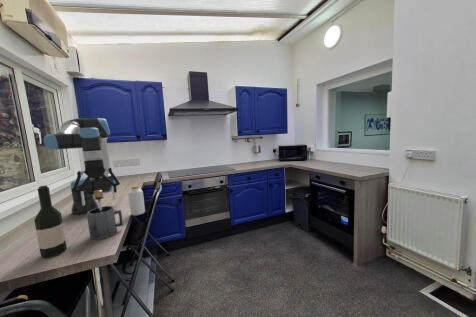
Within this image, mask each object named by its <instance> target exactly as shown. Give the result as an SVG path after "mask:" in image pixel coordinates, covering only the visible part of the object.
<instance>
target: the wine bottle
mask: <svg viewBox="0 0 476 317" xmlns="http://www.w3.org/2000/svg"><path fill="white" fill-rule="evenodd" d="M37 193H38V199H39V205H40V209H39V211H38V213H37V214H36V216H35V218H34V221H33V222H34V226H35V231H36V236H37V242H38V248H39V254H40V258H41V259H46V260H47V259H50V258H54V257H58V256H60V255H61V254H63V253H65V252H66V250H67V249H68V247H67V246H68V245H67V242H66V241H67V240H66V234H65V228H64V222H63V216H62V213H61V211H59V210H58V209H57V208H55V206H53V204H52V198H51V193H50V187H48V185H40V186H38V188H37Z"/></svg>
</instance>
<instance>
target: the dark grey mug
mask: <svg viewBox="0 0 476 317" xmlns="http://www.w3.org/2000/svg"><path fill="white" fill-rule="evenodd" d="M101 207H102V212H101V213H100V210H99V207H98V208H95V209H93V210H90V211H88V212H87V213H86V218H87V226H88V230H89V238H90V240H91V241H101V240H104V239H108V238H110V237H112V236H114V235H116V234H117V233H118V227H122V226H124V223H123V216H122V209H119V210H115V208H114V206H112V205H105V206H101ZM116 215H118V218H119V223H116Z"/></svg>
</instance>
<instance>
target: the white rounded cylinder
mask: <svg viewBox="0 0 476 317" xmlns="http://www.w3.org/2000/svg"><path fill="white" fill-rule="evenodd" d="M130 188H131V189H130V190H129V191H128V193H127V194H128V202H129V210H130V215H131V216H140V215H143V214H144V213H145V212H146V208H145V198H144V191H143V190H142V189H140V188H139V185H135V186H131V187H130Z"/></svg>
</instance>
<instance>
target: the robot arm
mask: <svg viewBox="0 0 476 317" xmlns="http://www.w3.org/2000/svg"><path fill="white" fill-rule="evenodd" d="M110 135H111V131H110V127H109V124H108V121H107V119H106V118H104V117H103V118H101V117H94V118H91V117H90V118H89V117H88V118H86V117H84V118H82V117H81V118H80V117H77V118H73V119H72V118H71V119H69V120H67V121H64V123H62V124H61V126H60V128H59V130H58V131H57V132H55V133H50V134H46V135H44V137H43V141H44V147H45V148H46V149H47V150H51V151H52V150H54V151H56V150H67V149H69V150H70V149H81V150H82V156H83V160H84V161H83V164H84V170H82V171H81V170H78V171H77V173H76V175H77V176H76V179H74V180H72V181H71V182H70V190H71V197H72V207H71V211H70V213H71V215H76V216H77V215H78V216H79V215H84V214H87V212H88V211H90V210H93V209H95V208H99V203H98V202H97V200H95V198H94V191H97V190H102V191H103V194H105V193H111V192H112V198H113V200H114V201H115V200H116V196H115V194H116V193H117V192H118V191H117V186H119V185H120V181H119V180H118V178H117V175H116V174H114V172H113V169H112V167H111V165H110V158H109V151H108V150H109V149H108V143H107V142H108V141H107V140H108V139H109V136H110ZM84 174H85V175H86V177H82V176H83V175H84Z"/></svg>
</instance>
